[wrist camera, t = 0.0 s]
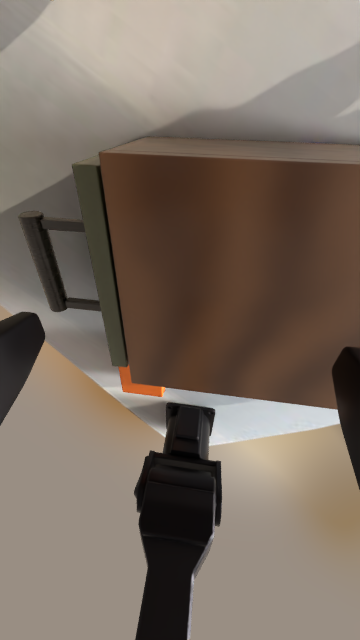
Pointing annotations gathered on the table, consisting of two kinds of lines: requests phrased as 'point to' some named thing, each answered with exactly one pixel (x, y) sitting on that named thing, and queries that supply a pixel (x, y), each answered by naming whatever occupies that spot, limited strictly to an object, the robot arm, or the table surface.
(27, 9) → the table surface
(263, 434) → the table surface
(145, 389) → the orange box
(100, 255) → the drawer
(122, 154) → the cabinet
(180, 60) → the table surface
